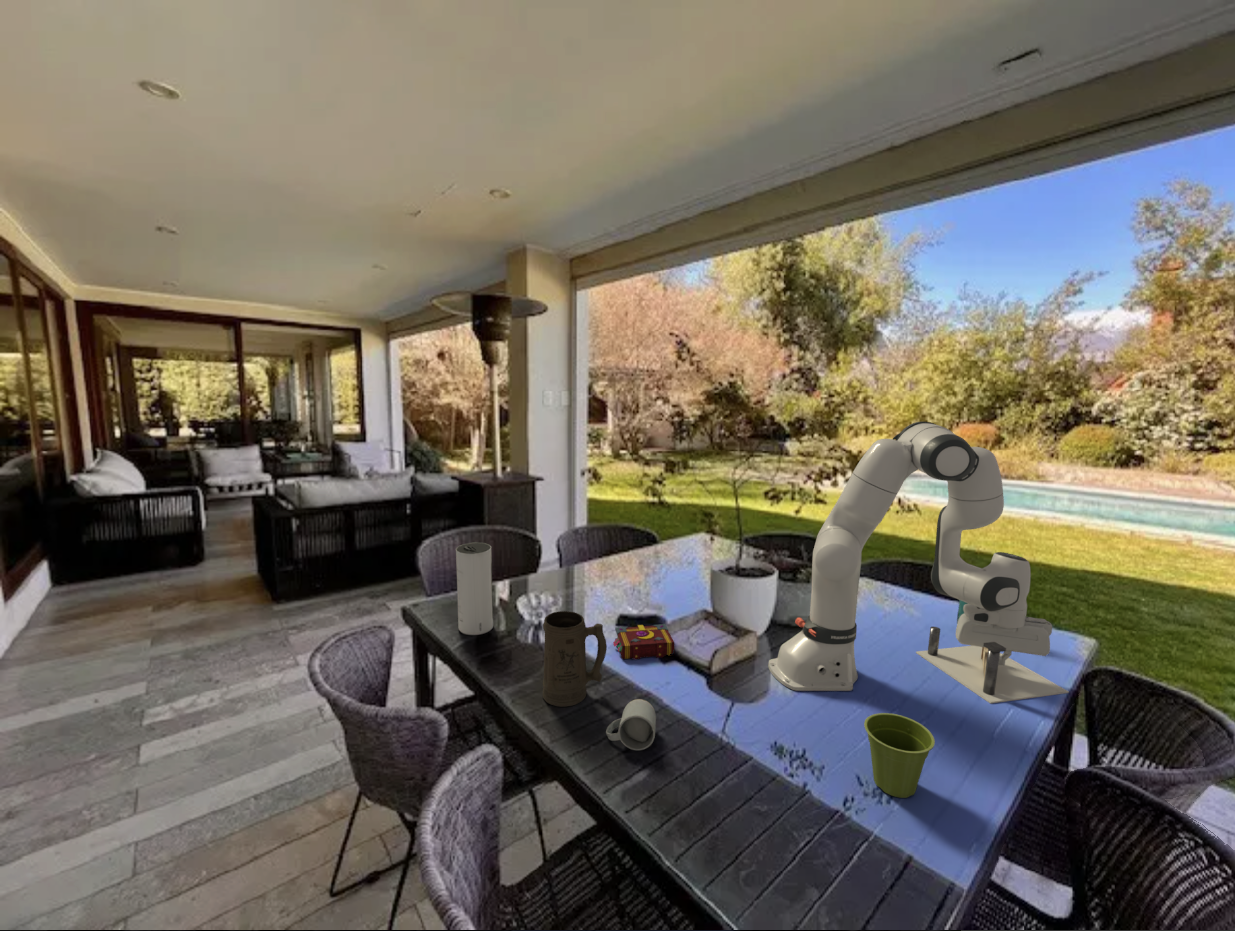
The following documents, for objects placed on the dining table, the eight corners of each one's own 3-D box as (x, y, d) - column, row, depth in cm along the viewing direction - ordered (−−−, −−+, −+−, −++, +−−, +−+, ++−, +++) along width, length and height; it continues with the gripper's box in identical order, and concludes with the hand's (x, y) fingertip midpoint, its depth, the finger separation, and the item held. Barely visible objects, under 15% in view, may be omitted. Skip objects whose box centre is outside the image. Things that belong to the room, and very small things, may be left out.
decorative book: (674, 657, 152) (675, 640, 151) (617, 661, 150) (617, 644, 149) (664, 638, 163) (665, 622, 162) (611, 641, 161) (611, 625, 160)
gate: (993, 688, 136) (996, 666, 135) (983, 686, 137) (986, 664, 136) (989, 658, 151) (992, 638, 150) (981, 656, 152) (983, 636, 151)
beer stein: (542, 710, 127) (547, 629, 124) (536, 685, 137) (540, 609, 134) (606, 705, 131) (612, 626, 128) (596, 680, 142) (601, 607, 138)
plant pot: (906, 762, 111) (911, 711, 109) (942, 808, 100) (949, 752, 98) (848, 763, 111) (853, 712, 109) (878, 809, 99) (883, 753, 97)
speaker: (496, 632, 165) (493, 549, 161) (460, 638, 161) (456, 553, 157) (490, 618, 175) (488, 539, 170) (456, 623, 171) (453, 542, 167)
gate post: (988, 698, 134) (995, 649, 131) (977, 690, 137) (983, 642, 134) (999, 696, 134) (1006, 648, 132) (988, 689, 137) (994, 641, 135)
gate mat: (990, 703, 131) (990, 702, 131) (915, 652, 155) (915, 651, 155) (1068, 692, 136) (1068, 691, 136) (984, 645, 160) (984, 644, 160)
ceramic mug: (656, 727, 122) (656, 695, 120) (654, 752, 114) (654, 718, 112) (608, 724, 123) (608, 692, 122) (604, 749, 115) (603, 715, 114)
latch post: (931, 657, 152) (934, 630, 151) (925, 653, 155) (928, 626, 153) (939, 656, 153) (942, 630, 152) (932, 652, 155) (935, 626, 154)
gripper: (1048, 615, 141) (1041, 665, 143) (956, 603, 148) (951, 651, 150) (1058, 625, 135) (1050, 677, 138) (962, 613, 142) (957, 662, 145)
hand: (998, 663), depth 144 cm, fingers closed
